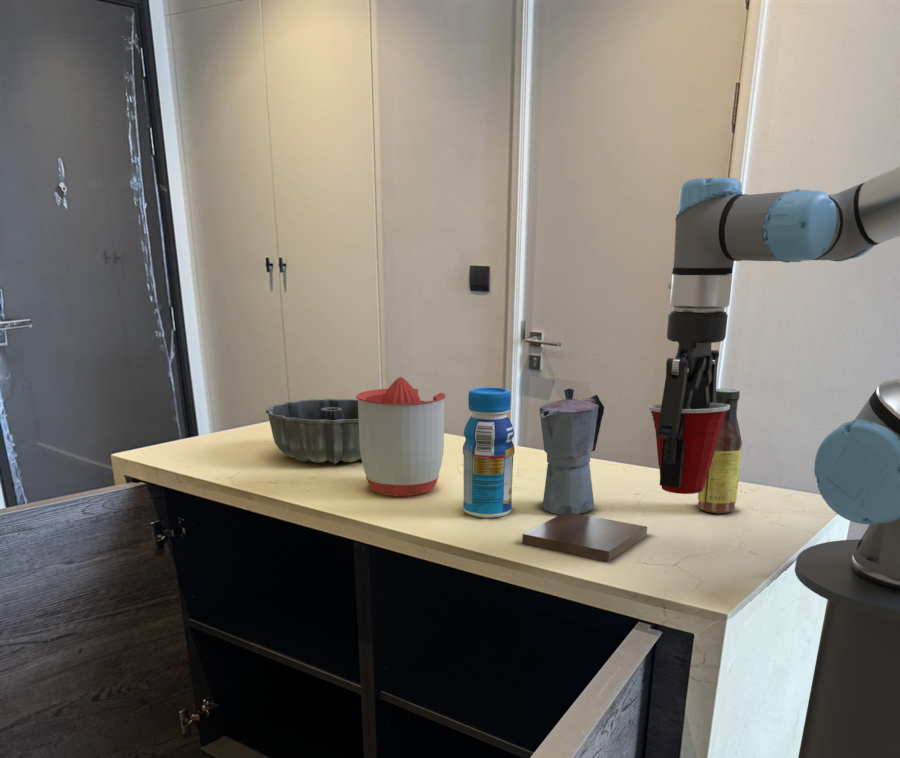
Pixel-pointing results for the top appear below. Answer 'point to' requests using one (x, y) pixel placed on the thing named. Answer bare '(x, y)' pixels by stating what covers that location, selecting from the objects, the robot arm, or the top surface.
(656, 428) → the plastic cup
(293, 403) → the bundt pan
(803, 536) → the top surface
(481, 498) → the beverage bottle
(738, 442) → the sauce bottle
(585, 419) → the moka pot
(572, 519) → the trivet board
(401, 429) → the citrus juicer
